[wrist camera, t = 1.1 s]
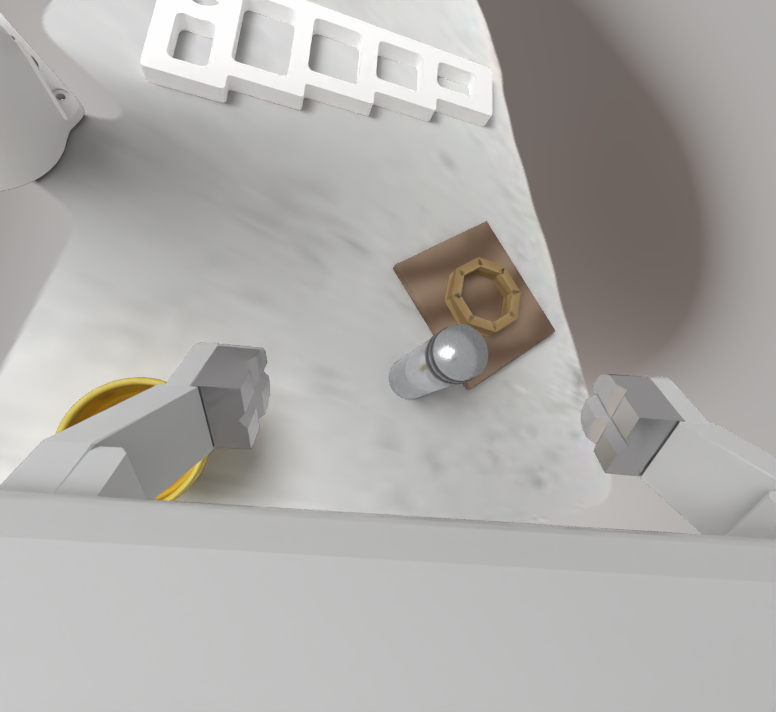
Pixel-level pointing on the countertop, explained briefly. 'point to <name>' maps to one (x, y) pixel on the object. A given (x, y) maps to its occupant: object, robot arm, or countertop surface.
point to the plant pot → (112, 396)
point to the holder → (300, 81)
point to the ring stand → (476, 295)
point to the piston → (440, 362)
